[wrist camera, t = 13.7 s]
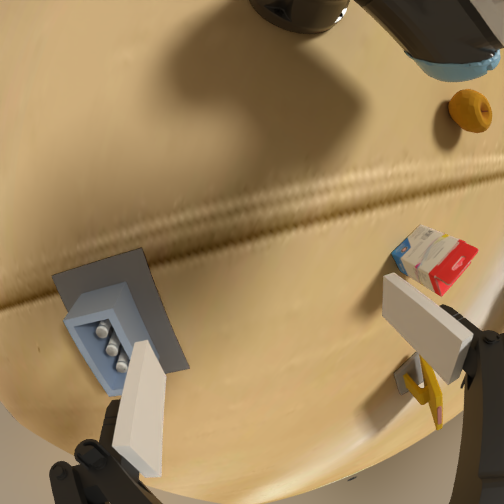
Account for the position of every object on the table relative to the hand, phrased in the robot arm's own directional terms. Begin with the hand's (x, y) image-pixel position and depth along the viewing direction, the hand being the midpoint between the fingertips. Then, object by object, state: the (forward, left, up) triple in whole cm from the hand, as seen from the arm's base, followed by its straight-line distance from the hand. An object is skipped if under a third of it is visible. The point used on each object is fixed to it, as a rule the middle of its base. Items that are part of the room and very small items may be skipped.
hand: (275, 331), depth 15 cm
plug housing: (+11, -20, -26) cm, 35 cm away
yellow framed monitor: (+47, +34, -27) cm, 64 cm away
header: (+11, -20, -26) cm, 35 cm away
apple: (-12, +47, -27) cm, 55 cm away
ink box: (+12, +31, -27) cm, 43 cm away
